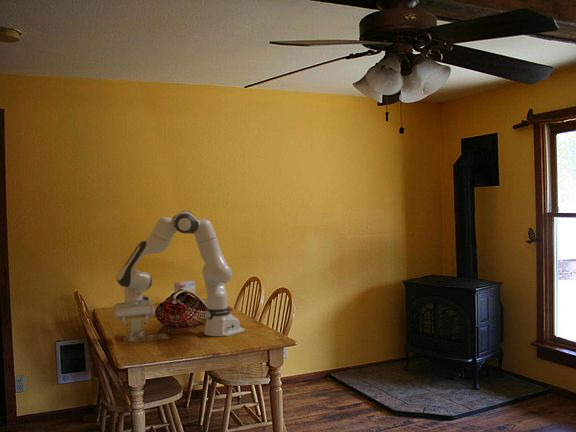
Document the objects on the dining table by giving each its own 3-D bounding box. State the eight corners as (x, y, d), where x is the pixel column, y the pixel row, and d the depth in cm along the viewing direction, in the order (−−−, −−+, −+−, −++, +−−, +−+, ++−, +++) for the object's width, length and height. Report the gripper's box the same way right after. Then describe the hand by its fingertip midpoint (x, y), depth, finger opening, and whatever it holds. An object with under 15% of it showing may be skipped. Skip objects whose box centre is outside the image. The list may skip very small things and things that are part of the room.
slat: (140, 338, 282) (140, 318, 282) (141, 338, 280) (141, 319, 280) (131, 339, 280) (130, 319, 280) (131, 339, 278) (131, 320, 278)
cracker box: (188, 311, 357) (188, 279, 356) (195, 312, 354) (195, 280, 353) (174, 315, 345) (173, 282, 344) (181, 316, 342) (180, 283, 341)
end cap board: (165, 336, 292) (165, 325, 292) (169, 341, 281) (169, 330, 280) (123, 340, 283) (122, 329, 283) (125, 345, 272) (125, 335, 272)
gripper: (113, 300, 282) (115, 322, 273) (153, 297, 290) (156, 318, 281) (112, 307, 286) (114, 329, 277) (152, 303, 294) (155, 325, 285)
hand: (136, 324), depth 279 cm, fingers open, 8 cm apart
